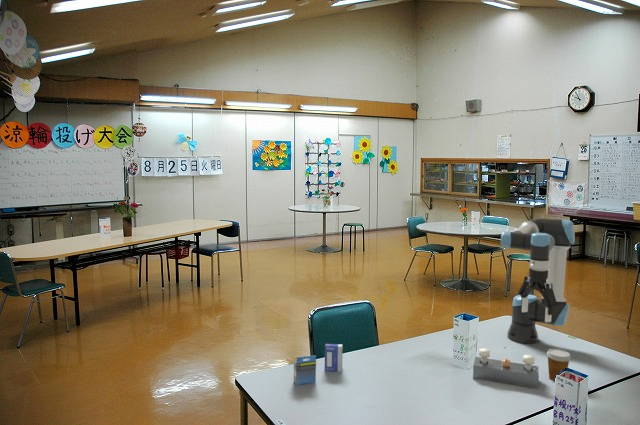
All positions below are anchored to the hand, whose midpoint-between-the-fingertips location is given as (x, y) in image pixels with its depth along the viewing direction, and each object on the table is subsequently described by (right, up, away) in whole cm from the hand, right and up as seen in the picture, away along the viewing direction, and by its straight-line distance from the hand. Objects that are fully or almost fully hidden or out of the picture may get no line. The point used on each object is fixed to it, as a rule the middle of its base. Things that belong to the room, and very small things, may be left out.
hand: (535, 316), depth 216 cm
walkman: (-88, -26, +7) cm, 92 cm away
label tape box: (-101, -27, -5) cm, 104 cm away
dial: (-14, -21, -1) cm, 25 cm away
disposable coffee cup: (+9, -27, 0) cm, 29 cm away
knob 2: (-5, -24, -4) cm, 25 cm away
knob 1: (-22, -23, +3) cm, 32 cm away
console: (-14, -27, 0) cm, 30 cm away
